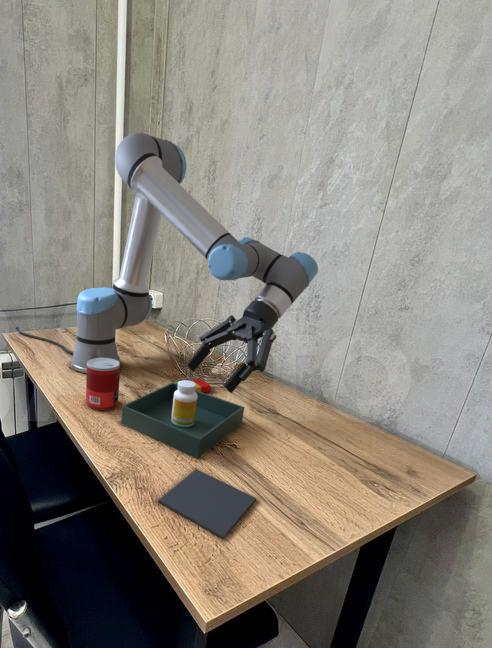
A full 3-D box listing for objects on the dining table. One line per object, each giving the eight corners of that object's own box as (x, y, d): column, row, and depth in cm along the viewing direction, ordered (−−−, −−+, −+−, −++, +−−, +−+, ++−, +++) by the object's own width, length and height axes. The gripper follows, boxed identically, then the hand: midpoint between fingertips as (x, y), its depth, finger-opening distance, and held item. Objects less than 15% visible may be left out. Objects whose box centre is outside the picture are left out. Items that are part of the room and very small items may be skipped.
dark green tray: (121, 423, 91) (122, 406, 89) (171, 397, 106) (172, 382, 104) (197, 458, 79) (200, 439, 78) (241, 423, 94) (244, 407, 93)
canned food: (121, 409, 97) (123, 367, 93) (88, 412, 95) (89, 369, 91) (114, 396, 104) (115, 356, 100) (83, 398, 102) (84, 357, 98)
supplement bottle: (197, 427, 90) (202, 388, 87) (174, 428, 89) (178, 388, 86) (190, 416, 95) (195, 378, 92) (168, 416, 94) (172, 378, 91)
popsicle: (211, 391, 111) (212, 385, 110) (164, 398, 105) (164, 392, 104) (201, 384, 115) (201, 378, 115) (154, 390, 109) (155, 384, 109)
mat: (158, 502, 66) (158, 499, 66) (195, 471, 75) (195, 469, 75) (223, 539, 60) (223, 536, 59) (255, 500, 68) (256, 498, 68)
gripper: (316, 333, 85) (253, 409, 83) (236, 308, 105) (184, 368, 104) (305, 310, 81) (238, 389, 79) (223, 289, 101) (168, 351, 99)
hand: (207, 378), depth 91 cm, fingers open, 13 cm apart
